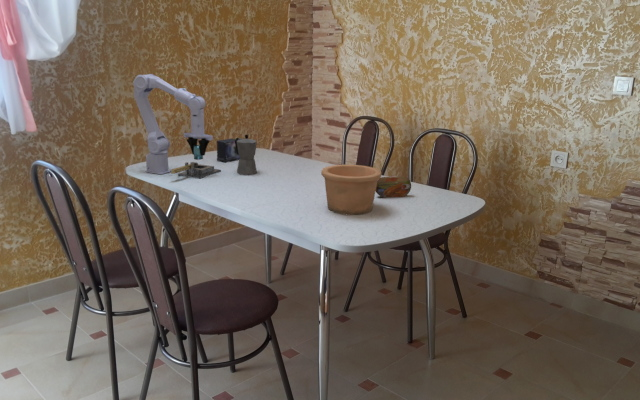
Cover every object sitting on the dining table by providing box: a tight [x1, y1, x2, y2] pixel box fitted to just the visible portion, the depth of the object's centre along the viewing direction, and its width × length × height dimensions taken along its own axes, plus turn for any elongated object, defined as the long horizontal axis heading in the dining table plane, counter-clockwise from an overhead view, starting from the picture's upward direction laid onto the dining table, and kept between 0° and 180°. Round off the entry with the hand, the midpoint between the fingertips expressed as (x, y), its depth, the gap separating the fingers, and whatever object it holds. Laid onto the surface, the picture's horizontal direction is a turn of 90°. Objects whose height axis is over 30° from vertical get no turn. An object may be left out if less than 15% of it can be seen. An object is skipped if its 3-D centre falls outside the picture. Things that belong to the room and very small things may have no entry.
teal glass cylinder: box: [193, 144, 204, 161], centre depth 244 cm, size 4×4×6 cm
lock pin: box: [170, 161, 199, 175], centre depth 239 cm, size 3×16×2 cm, turn 156°
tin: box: [375, 175, 412, 199], centre depth 219 cm, size 15×3×8 cm, turn 105°
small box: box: [216, 138, 240, 163], centre depth 278 cm, size 11×6×10 cm, turn 143°
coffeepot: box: [235, 134, 258, 176], centre depth 252 cm, size 15×9×18 cm, turn 44°
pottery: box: [320, 164, 382, 216], centre depth 201 cm, size 22×22×14 cm
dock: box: [177, 161, 222, 179], centre depth 250 cm, size 12×16×6 cm
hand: (198, 154), depth 245 cm, fingers closed on teal glass cylinder, 4 cm apart
